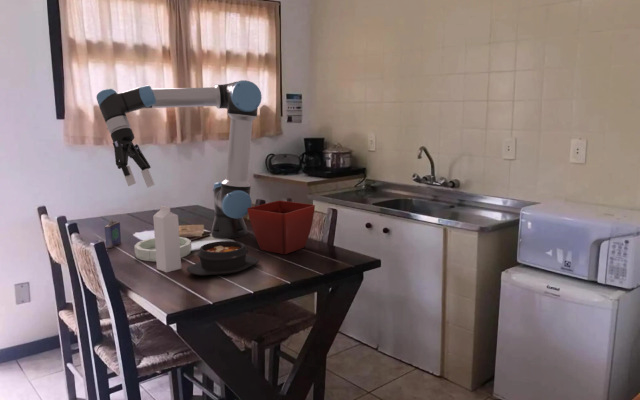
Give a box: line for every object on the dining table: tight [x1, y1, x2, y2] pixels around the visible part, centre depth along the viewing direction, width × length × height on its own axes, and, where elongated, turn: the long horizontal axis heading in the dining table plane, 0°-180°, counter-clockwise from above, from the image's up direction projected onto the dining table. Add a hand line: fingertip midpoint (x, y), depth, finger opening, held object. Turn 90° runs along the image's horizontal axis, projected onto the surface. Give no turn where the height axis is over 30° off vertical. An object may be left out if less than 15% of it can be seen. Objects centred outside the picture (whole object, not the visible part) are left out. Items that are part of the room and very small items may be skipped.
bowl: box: [133, 236, 192, 262], centre depth 200 cm, size 20×20×4 cm
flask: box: [104, 219, 122, 249], centre depth 211 cm, size 9×3×11 cm, turn 172°
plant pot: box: [247, 200, 316, 255], centre depth 203 cm, size 19×19×17 cm
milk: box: [152, 205, 182, 273], centre depth 180 cm, size 6×6×22 cm
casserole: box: [186, 240, 260, 277], centre depth 179 cm, size 25×19×8 cm
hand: (142, 185), depth 188 cm, fingers open, 13 cm apart
